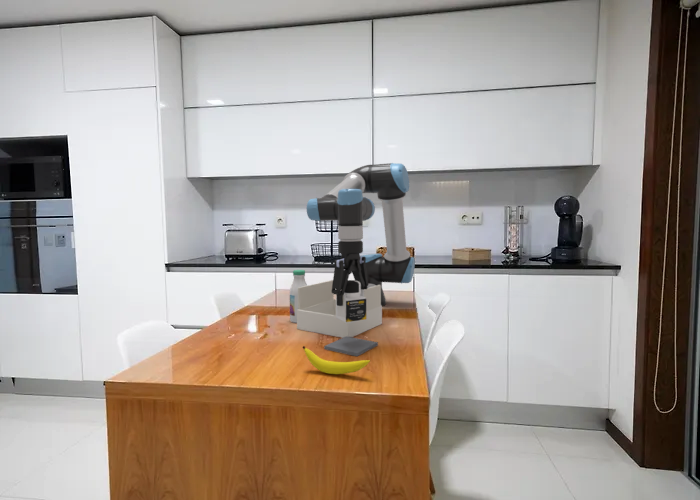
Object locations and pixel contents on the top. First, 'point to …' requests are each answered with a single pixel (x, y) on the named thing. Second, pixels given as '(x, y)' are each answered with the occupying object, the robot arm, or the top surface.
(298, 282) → the milk bottle
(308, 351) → the banana
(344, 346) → the mat
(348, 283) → the medicine bottle
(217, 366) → the top surface
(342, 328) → the carton
